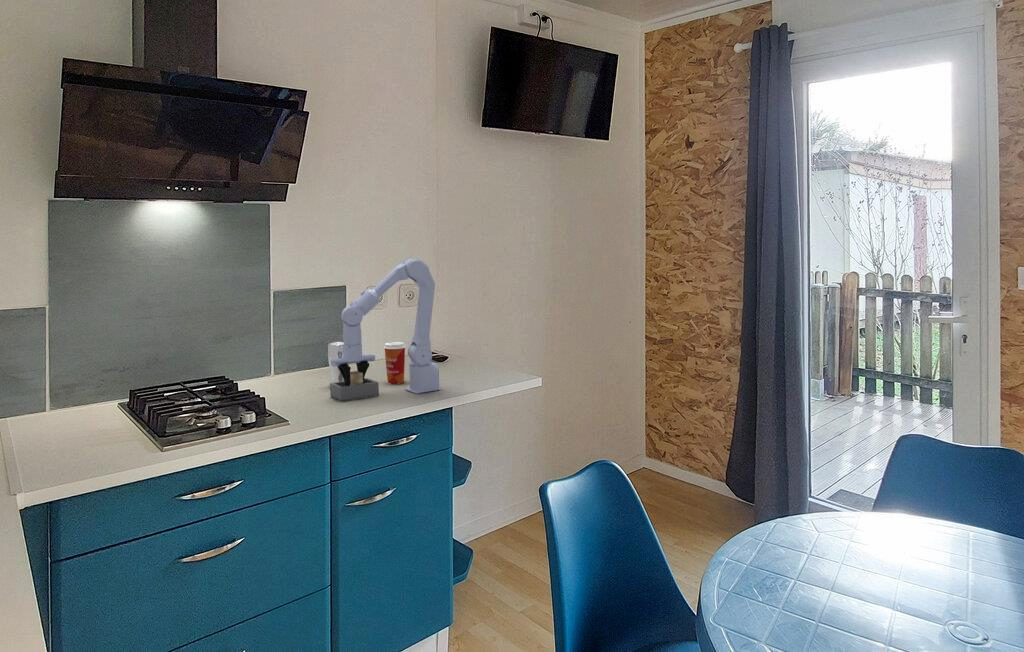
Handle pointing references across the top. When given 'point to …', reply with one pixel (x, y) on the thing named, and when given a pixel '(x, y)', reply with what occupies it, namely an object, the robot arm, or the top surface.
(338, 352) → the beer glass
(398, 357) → the paper cup
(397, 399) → the top surface
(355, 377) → the birch block
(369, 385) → the grey rectangular open box
